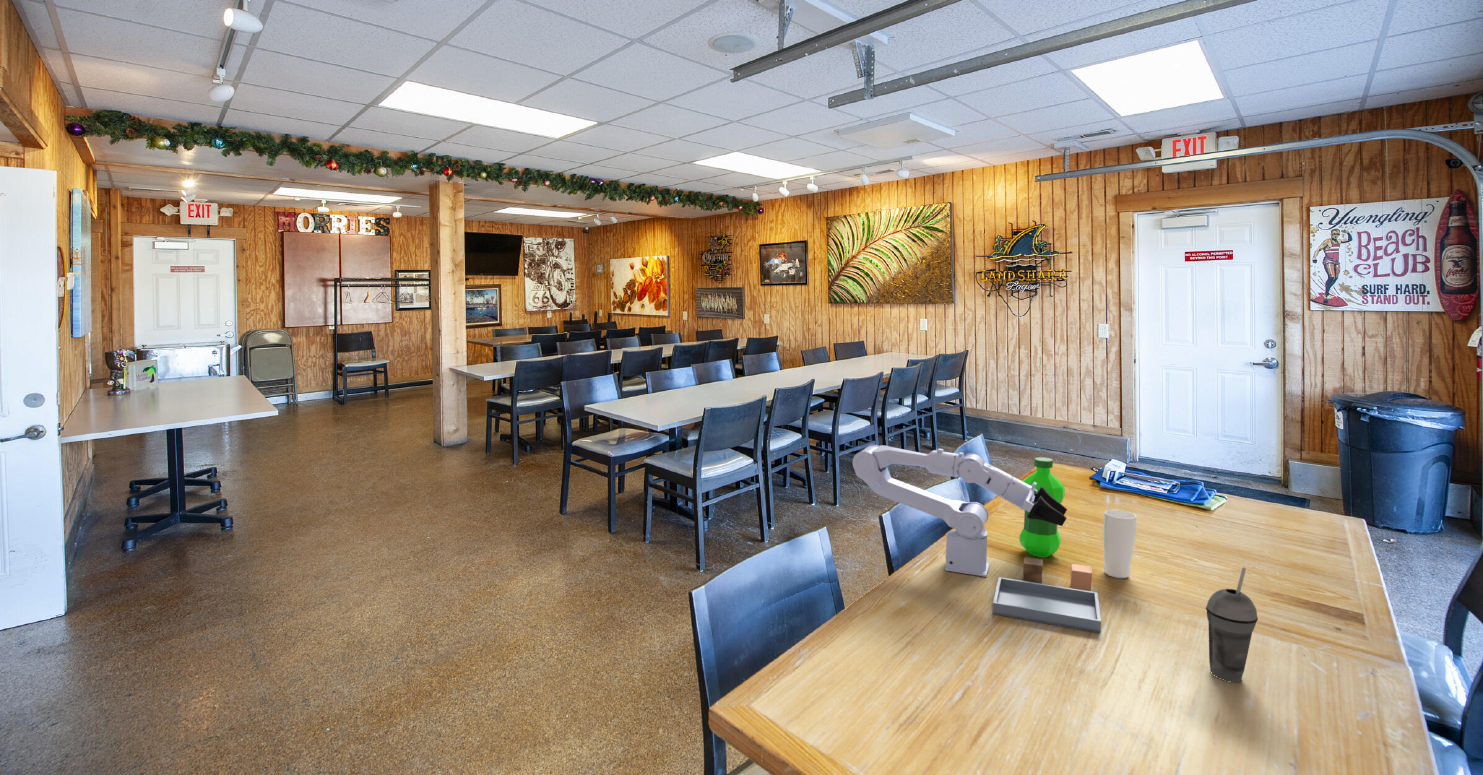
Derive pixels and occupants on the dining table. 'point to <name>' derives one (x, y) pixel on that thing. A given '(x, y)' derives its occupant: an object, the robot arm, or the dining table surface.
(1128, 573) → the drinking glass
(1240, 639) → the beverage cup
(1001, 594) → the tray
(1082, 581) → the terracotta block
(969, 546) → the robot arm
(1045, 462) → the plastic bottle
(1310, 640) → the dining table surface
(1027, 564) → the walnut block
